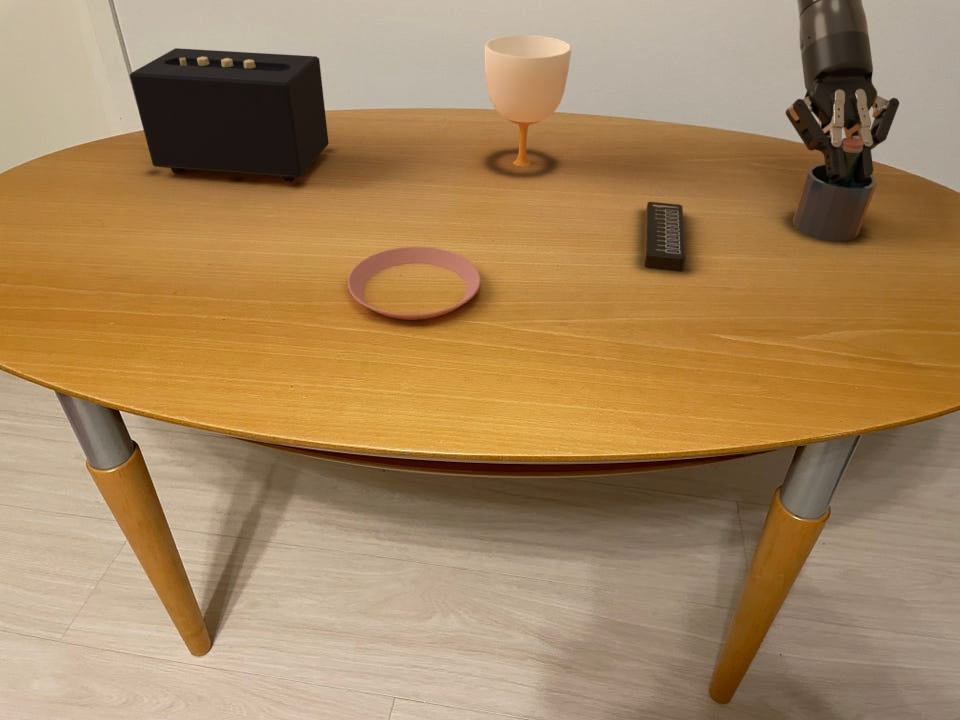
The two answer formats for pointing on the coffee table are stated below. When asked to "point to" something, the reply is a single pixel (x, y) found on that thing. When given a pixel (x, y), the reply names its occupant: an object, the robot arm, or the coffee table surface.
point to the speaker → (232, 111)
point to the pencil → (850, 158)
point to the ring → (413, 256)
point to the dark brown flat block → (664, 237)
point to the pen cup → (832, 206)
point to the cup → (526, 80)
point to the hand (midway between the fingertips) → (851, 180)
